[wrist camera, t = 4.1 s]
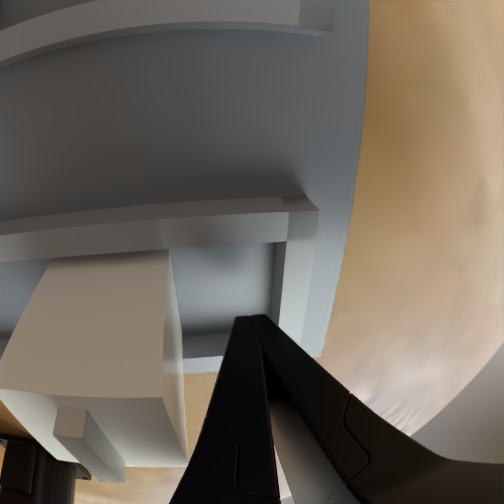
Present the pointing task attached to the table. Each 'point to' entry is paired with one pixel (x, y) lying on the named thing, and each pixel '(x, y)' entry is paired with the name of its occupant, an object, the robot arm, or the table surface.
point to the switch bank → (185, 152)
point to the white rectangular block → (101, 364)
